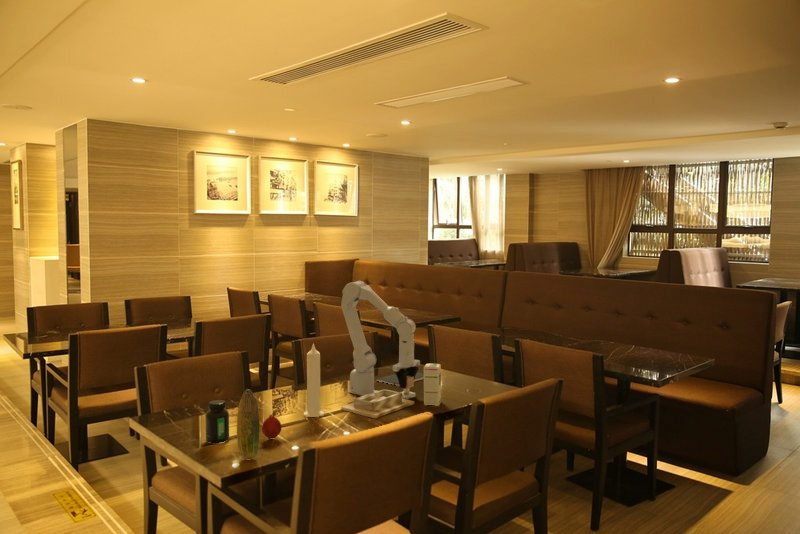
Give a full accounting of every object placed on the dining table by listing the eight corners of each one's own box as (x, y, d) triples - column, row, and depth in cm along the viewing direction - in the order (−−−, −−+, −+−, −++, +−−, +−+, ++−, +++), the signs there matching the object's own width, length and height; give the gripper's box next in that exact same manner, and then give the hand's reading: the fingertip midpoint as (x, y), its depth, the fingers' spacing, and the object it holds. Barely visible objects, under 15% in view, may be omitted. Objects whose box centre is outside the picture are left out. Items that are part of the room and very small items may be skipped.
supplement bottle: (226, 444, 179) (226, 405, 178) (203, 445, 178) (202, 405, 178) (231, 436, 186) (230, 398, 185) (208, 437, 185) (208, 399, 184)
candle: (327, 413, 210) (327, 342, 208) (318, 419, 203) (318, 346, 201) (309, 411, 212) (309, 341, 210) (299, 416, 205) (299, 344, 204)
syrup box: (439, 406, 218) (439, 367, 217) (423, 405, 219) (423, 366, 218) (441, 402, 224) (441, 363, 223) (425, 401, 225) (425, 362, 224)
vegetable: (232, 460, 166) (231, 390, 165) (246, 453, 172) (245, 384, 171) (250, 464, 164) (249, 392, 162) (264, 456, 169) (263, 387, 168)
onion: (263, 436, 186) (263, 411, 185) (282, 436, 186) (282, 410, 186) (260, 443, 180) (260, 417, 179) (280, 442, 180) (280, 416, 180)
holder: (375, 418, 204) (375, 406, 204) (341, 409, 214) (341, 398, 214) (414, 403, 221) (414, 393, 221) (381, 396, 231) (381, 386, 231)
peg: (397, 397, 230) (397, 376, 229) (405, 394, 234) (405, 374, 233) (407, 399, 227) (407, 378, 226) (415, 396, 231) (415, 376, 230)
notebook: (408, 373, 270) (375, 382, 254) (408, 370, 270) (375, 378, 254) (430, 378, 262) (398, 387, 246) (430, 374, 262) (398, 383, 246)
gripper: (402, 356, 221) (402, 392, 222) (426, 350, 232) (425, 384, 233) (388, 353, 225) (388, 389, 226) (411, 347, 237) (411, 381, 238)
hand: (406, 386), depth 230 cm, fingers closed on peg, 4 cm apart
